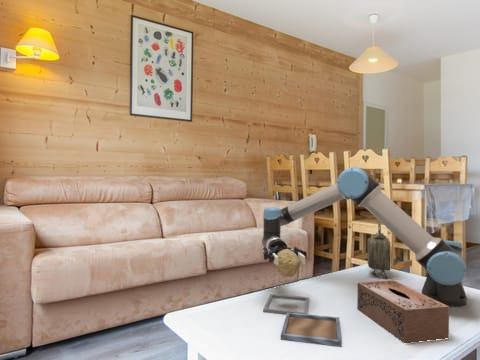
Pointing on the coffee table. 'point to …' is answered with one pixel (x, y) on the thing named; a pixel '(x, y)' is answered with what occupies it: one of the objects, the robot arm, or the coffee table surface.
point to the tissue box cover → (403, 311)
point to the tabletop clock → (379, 252)
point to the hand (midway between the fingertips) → (290, 260)
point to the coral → (287, 263)
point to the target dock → (312, 329)
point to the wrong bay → (285, 298)
